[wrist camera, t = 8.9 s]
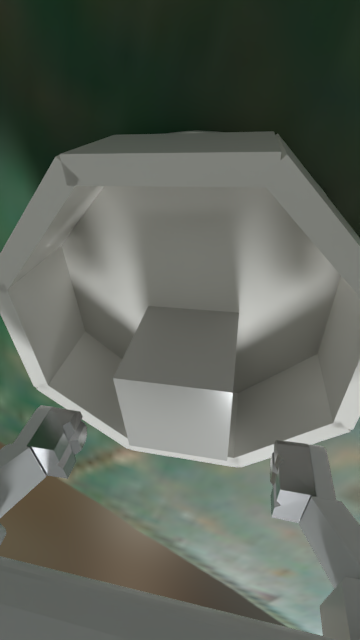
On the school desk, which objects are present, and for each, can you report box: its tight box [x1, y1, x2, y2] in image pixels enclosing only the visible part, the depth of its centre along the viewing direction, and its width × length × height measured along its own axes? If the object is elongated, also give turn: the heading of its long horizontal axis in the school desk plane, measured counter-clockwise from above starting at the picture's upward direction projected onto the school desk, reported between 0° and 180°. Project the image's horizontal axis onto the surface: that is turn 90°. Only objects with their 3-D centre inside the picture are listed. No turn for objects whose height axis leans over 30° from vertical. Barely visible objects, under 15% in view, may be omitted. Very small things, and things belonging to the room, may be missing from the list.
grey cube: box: [113, 306, 239, 461], centre depth 13 cm, size 4×4×4 cm
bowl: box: [0, 130, 360, 467], centre depth 12 cm, size 12×12×4 cm
